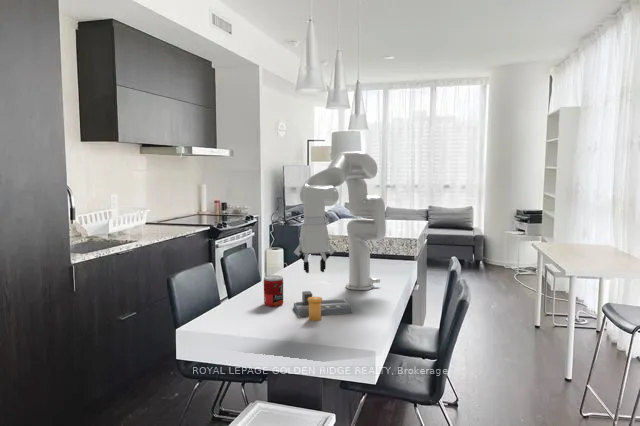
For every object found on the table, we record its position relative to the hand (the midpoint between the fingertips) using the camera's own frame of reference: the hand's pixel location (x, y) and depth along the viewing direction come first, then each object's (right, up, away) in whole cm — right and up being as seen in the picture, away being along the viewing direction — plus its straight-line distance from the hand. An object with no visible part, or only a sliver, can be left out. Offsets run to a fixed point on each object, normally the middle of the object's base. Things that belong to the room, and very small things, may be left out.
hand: (314, 271), depth 166 cm
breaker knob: (-3, -14, +11) cm, 18 cm away
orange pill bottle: (0, -17, +1) cm, 18 cm away
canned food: (-17, -16, +21) cm, 31 cm away
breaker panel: (+3, -16, +12) cm, 21 cm away
